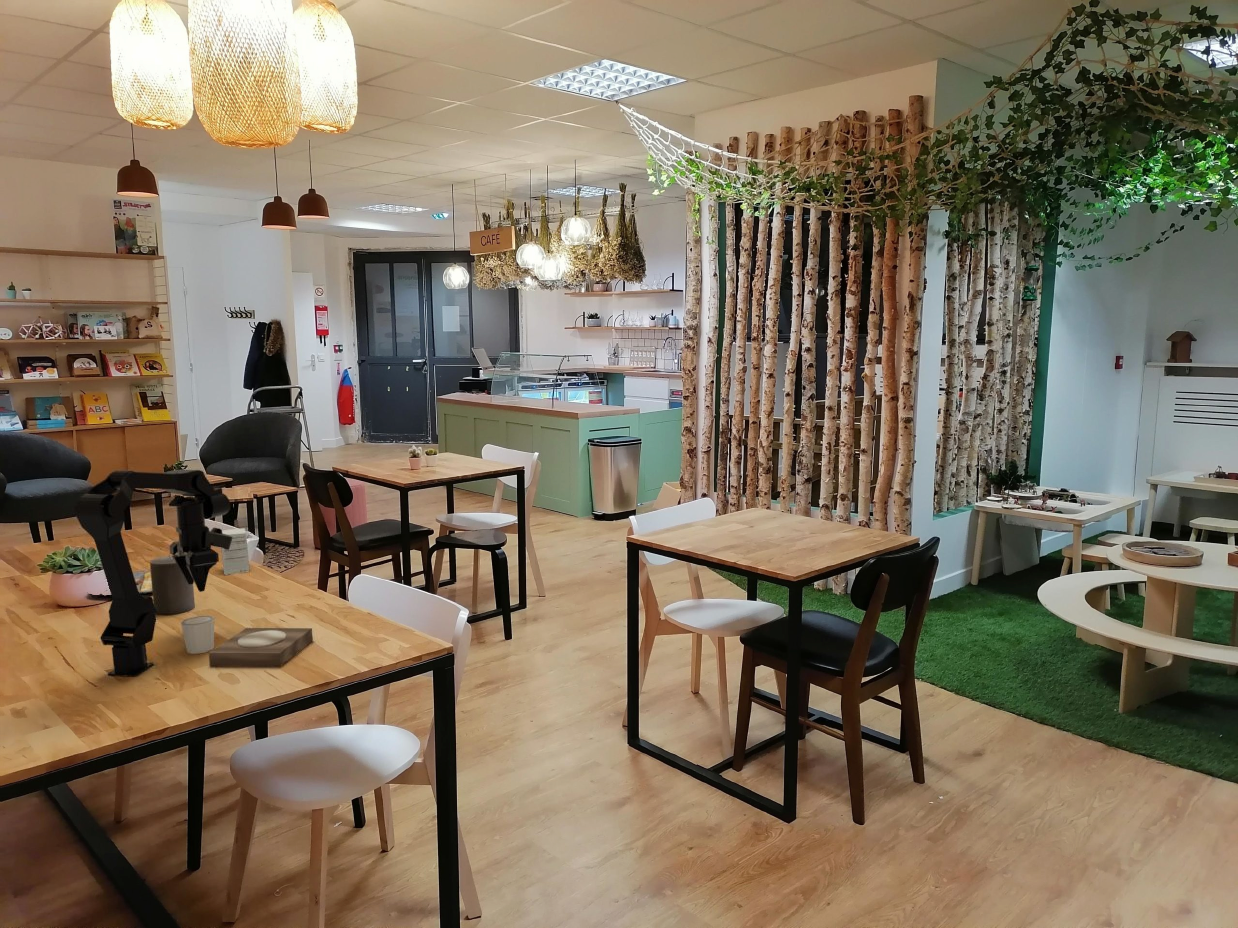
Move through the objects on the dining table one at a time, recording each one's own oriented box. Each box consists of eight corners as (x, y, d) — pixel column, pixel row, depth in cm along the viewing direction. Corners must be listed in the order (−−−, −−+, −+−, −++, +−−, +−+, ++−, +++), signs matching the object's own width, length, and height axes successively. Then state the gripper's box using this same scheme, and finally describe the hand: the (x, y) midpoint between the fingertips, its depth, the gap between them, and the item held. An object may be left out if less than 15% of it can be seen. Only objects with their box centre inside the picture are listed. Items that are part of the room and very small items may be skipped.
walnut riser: (280, 666, 185) (279, 650, 185) (209, 665, 187) (208, 650, 186) (312, 640, 201) (311, 626, 201) (247, 640, 202) (246, 625, 202)
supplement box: (223, 570, 267) (219, 530, 265) (249, 566, 270) (245, 527, 268) (223, 575, 260) (219, 535, 258) (250, 572, 263) (246, 532, 261)
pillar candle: (157, 617, 221) (152, 560, 219) (151, 608, 229) (146, 553, 227) (198, 610, 227) (194, 555, 225) (191, 601, 235) (187, 548, 232)
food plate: (100, 580, 257) (99, 569, 256) (186, 572, 265) (185, 561, 265) (81, 606, 234) (80, 594, 233) (176, 596, 242) (175, 584, 242)
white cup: (203, 655, 193) (200, 625, 192) (177, 653, 195) (174, 624, 194) (223, 644, 200) (220, 615, 199) (197, 643, 201) (194, 614, 200)
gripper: (239, 523, 200) (244, 588, 201) (216, 513, 214) (220, 574, 216) (187, 530, 192) (193, 597, 194) (166, 519, 207) (171, 582, 208)
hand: (196, 587), depth 203 cm, fingers open, 9 cm apart
